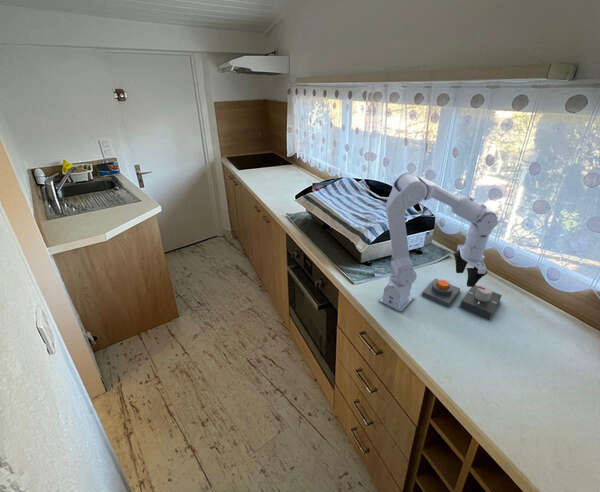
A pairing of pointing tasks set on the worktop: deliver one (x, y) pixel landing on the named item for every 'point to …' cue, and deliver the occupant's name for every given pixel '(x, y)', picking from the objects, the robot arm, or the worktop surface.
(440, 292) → the block
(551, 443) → the worktop surface
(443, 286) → the button
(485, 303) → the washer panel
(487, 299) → the program dial
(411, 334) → the worktop surface
